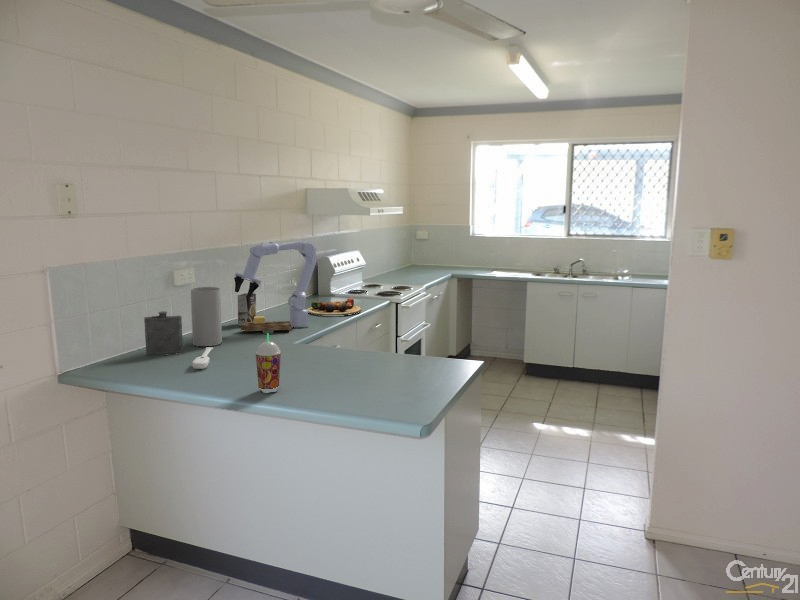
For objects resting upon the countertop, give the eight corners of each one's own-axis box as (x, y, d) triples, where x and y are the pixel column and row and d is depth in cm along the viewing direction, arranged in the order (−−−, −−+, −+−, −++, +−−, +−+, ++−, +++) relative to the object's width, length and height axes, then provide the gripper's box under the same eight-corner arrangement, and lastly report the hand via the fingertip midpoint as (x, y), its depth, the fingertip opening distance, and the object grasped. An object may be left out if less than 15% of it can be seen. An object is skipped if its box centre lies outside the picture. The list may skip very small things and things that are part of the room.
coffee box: (249, 326, 301) (248, 295, 299) (237, 326, 302) (236, 295, 300) (257, 323, 310) (256, 293, 307) (245, 322, 311) (245, 292, 309)
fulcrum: (272, 329, 295) (272, 326, 295) (273, 333, 287) (273, 330, 287) (262, 329, 294) (262, 327, 294) (262, 333, 286) (262, 330, 285)
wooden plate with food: (346, 306, 369) (346, 293, 368) (370, 314, 342) (370, 300, 341) (298, 311, 353) (298, 297, 351) (320, 319, 326) (319, 305, 325)
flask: (182, 354, 245) (181, 311, 242) (145, 356, 241) (143, 313, 238) (183, 351, 249) (181, 310, 246) (146, 353, 244) (144, 311, 241)
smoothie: (258, 387, 203) (257, 330, 200) (282, 387, 204) (281, 330, 200) (254, 395, 195) (253, 336, 191) (279, 394, 195) (279, 336, 192)
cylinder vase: (225, 345, 261) (223, 290, 257) (196, 348, 254) (194, 291, 250) (218, 339, 271) (216, 286, 267) (190, 342, 265) (187, 287, 261)
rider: (264, 325, 292) (264, 316, 291) (264, 327, 287) (264, 318, 287) (254, 325, 291) (254, 316, 290) (254, 327, 286) (254, 318, 285)
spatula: (203, 353, 248) (203, 347, 247) (217, 353, 249) (217, 346, 248) (190, 370, 220) (190, 363, 220) (206, 370, 221) (206, 362, 221)
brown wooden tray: (289, 326, 297) (289, 320, 296) (290, 329, 289) (290, 323, 289) (240, 327, 291) (240, 322, 290) (240, 331, 283) (240, 325, 283)
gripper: (234, 262, 287) (226, 288, 287) (258, 270, 282) (249, 297, 282) (243, 265, 294) (234, 291, 293) (266, 273, 289) (257, 299, 288)
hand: (242, 294), depth 288 cm, fingers open, 7 cm apart
